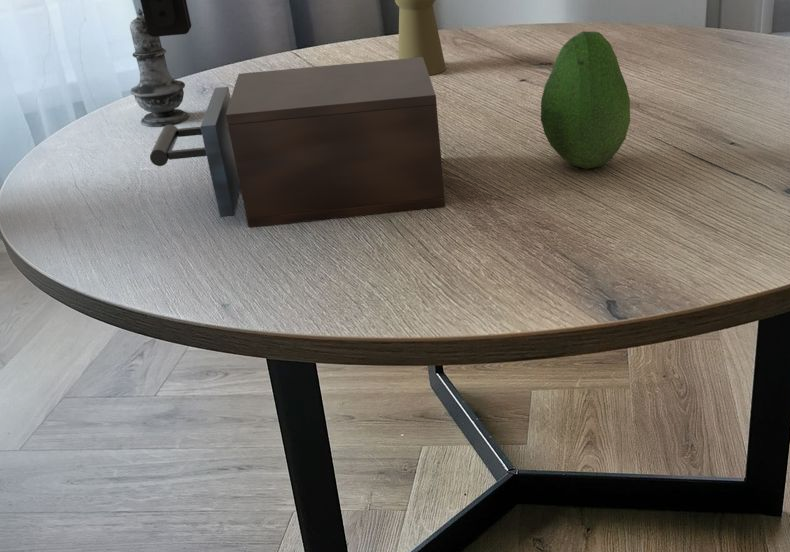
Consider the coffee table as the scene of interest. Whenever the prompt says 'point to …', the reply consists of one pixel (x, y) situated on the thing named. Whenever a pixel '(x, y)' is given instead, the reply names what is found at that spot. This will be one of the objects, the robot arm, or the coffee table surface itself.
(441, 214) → the coffee table surface
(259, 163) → the cabinet
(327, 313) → the coffee table surface
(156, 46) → the salt shaker
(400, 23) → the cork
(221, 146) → the drawer
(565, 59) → the fruit
